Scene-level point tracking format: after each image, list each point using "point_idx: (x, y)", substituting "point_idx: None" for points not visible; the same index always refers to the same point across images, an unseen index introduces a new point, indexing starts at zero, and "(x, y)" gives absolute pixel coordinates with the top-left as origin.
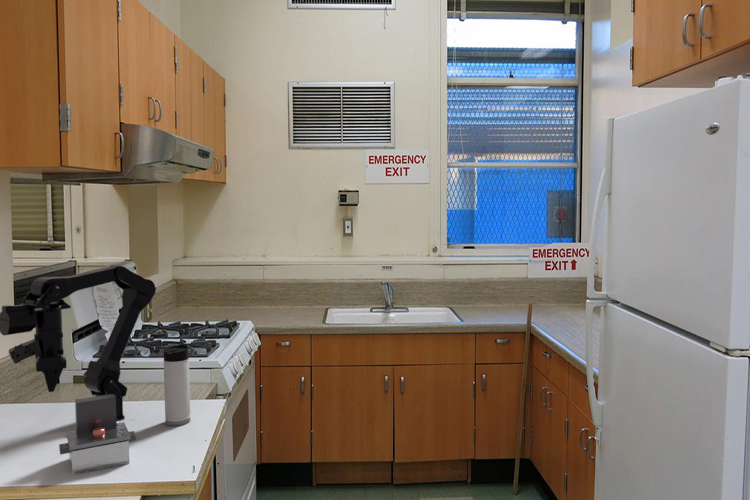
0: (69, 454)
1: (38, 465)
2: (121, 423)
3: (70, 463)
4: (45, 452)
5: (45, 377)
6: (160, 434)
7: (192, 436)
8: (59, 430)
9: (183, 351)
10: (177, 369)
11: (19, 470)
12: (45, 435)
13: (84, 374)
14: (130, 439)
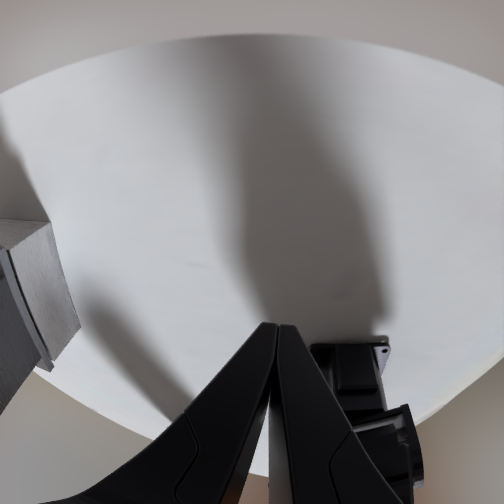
0: (35, 227)
1: (37, 150)
2: (43, 365)
3: (23, 221)
4: (113, 164)
5: (150, 447)
6: (141, 395)
7: (114, 411)
8: (340, 232)
9: None
10: None
11: (29, 108)
12: (311, 177)
13: (401, 485)
14: None
